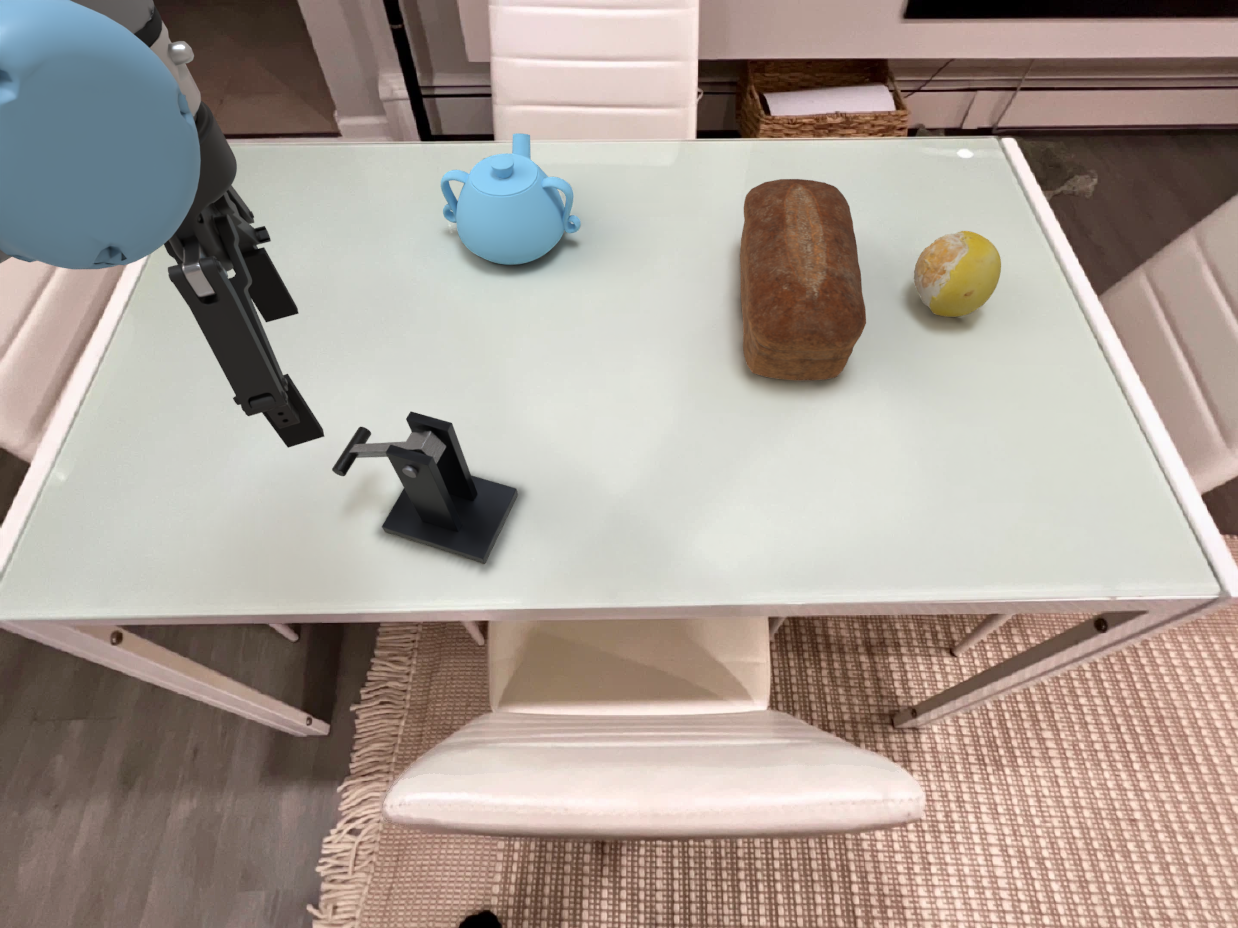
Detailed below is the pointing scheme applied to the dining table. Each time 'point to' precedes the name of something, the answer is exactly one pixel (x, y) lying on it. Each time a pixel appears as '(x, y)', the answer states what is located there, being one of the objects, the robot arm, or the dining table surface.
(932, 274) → the fruit
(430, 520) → the bracket
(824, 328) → the bread
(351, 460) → the lever
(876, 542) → the dining table surface
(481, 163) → the teapot
